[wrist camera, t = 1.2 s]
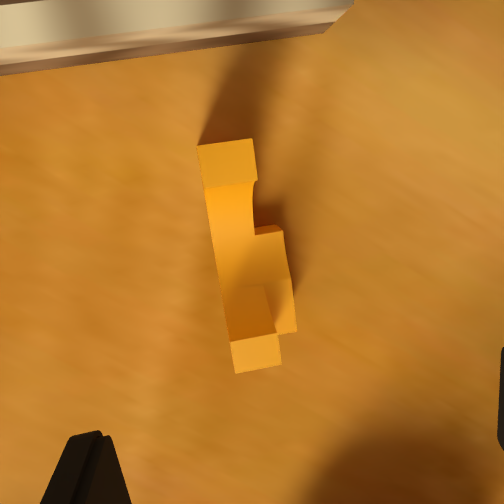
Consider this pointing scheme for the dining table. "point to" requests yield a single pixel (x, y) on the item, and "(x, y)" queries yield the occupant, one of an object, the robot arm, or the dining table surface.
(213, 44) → the board
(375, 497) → the dining table surface
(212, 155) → the pipe clamp
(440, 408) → the dining table surface
